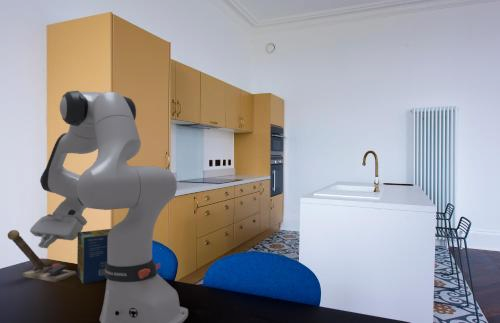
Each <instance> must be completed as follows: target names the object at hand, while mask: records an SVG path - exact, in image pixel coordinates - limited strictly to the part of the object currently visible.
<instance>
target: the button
mask: <svg viewBox="0 0 500 323" xmlns="http://www.w3.org/2000/svg"><path fill="white" fill-rule="evenodd" d="M59 265H61V263H52V264H51V267H52V269H53V268H55V267H57V266H59Z"/></svg>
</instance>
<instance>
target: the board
mask: <svg viewBox="0 0 500 323" xmlns="http://www.w3.org/2000/svg"><path fill="white" fill-rule="evenodd" d="M46 267H47V268H44V269H43V270H38V269H37V268H36V267H35V266H32V269H31V270H28V271H24V272H22V276H21V277H24V278H30V279H36V280H42V281H48V282H53V283H57V282H60V281H63V280H66V279H69V278H71V277H74V276H76V275H77V271H75V270H69V269H65V270H63V271H61V272H59V273H57V274H55V275H53V274H49V272H48V271H49V270H51V269H52V266H46ZM75 274H76V275H75ZM73 275H74V276H73ZM70 276H71V277H70ZM68 277H69V278H68Z"/></svg>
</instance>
